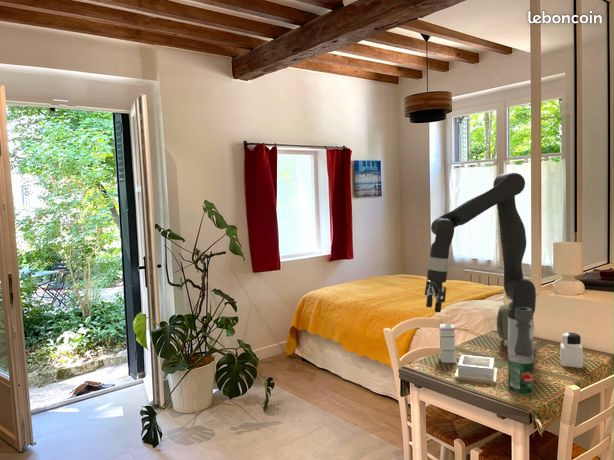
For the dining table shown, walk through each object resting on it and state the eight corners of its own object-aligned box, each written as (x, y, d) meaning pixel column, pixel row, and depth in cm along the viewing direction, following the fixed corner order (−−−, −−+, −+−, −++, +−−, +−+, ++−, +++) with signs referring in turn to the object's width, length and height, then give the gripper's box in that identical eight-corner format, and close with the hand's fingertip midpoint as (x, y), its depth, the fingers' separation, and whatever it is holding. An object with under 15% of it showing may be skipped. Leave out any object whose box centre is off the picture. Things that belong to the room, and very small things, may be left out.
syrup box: (456, 363, 185) (455, 327, 184) (440, 362, 186) (440, 327, 185) (454, 358, 190) (453, 323, 189) (439, 357, 191) (439, 323, 190)
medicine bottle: (581, 362, 181) (581, 332, 180) (583, 368, 174) (583, 337, 174) (560, 360, 184) (560, 330, 183) (561, 366, 177) (561, 335, 177)
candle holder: (532, 380, 165) (531, 311, 163) (513, 377, 168) (512, 309, 166) (534, 374, 170) (533, 307, 168) (515, 371, 173) (515, 306, 172)
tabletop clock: (533, 346, 202) (533, 289, 201) (533, 352, 194) (533, 293, 192) (497, 342, 208) (497, 288, 207) (496, 348, 200) (496, 291, 199)
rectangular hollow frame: (497, 370, 175) (497, 357, 175) (495, 384, 163) (495, 370, 162) (459, 365, 181) (458, 353, 181) (454, 378, 169) (454, 365, 168)
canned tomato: (509, 384, 162) (509, 353, 161) (534, 388, 158) (534, 356, 157) (506, 392, 155) (506, 360, 155) (532, 397, 151) (532, 364, 151)
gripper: (454, 272, 175) (449, 314, 175) (439, 267, 189) (434, 306, 190) (436, 271, 174) (431, 313, 174) (421, 265, 188) (417, 304, 189)
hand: (433, 309), depth 182 cm, fingers open, 8 cm apart
